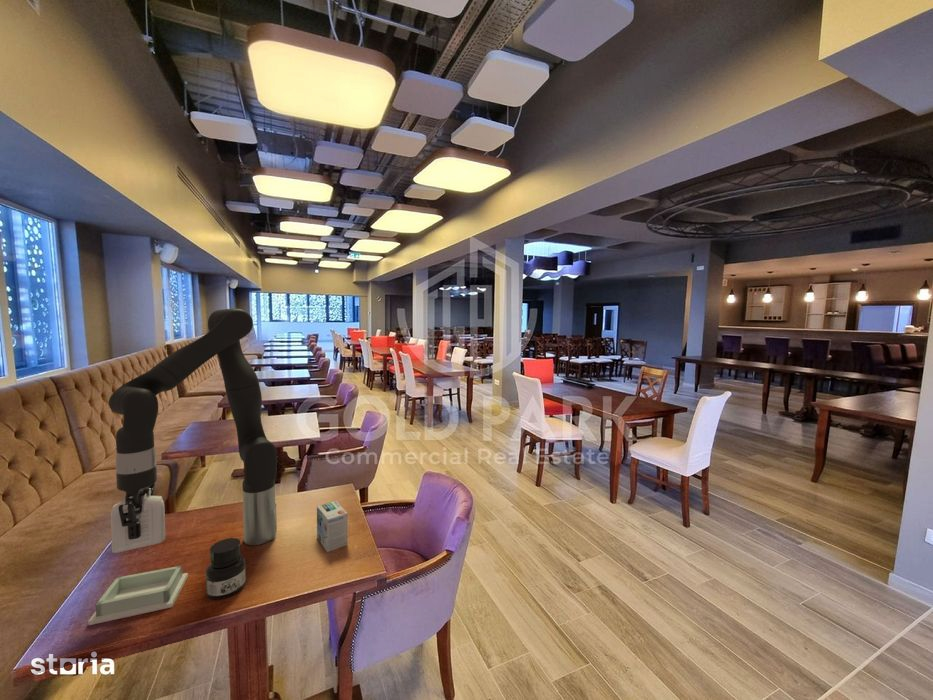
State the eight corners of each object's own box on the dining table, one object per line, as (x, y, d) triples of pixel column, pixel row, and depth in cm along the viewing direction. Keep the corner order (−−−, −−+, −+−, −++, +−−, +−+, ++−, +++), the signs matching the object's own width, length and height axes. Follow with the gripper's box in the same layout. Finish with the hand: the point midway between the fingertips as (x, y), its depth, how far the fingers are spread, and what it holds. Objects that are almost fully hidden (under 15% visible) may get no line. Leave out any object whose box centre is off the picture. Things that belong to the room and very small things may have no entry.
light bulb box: (316, 537, 123) (315, 505, 123) (336, 530, 128) (336, 500, 127) (327, 553, 115) (327, 519, 114) (348, 545, 119) (348, 512, 119)
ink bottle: (204, 606, 93) (203, 560, 92) (204, 585, 100) (202, 543, 99) (249, 590, 99) (248, 547, 98) (245, 572, 106) (244, 531, 105)
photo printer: (166, 534, 99) (164, 489, 98) (164, 543, 95) (162, 496, 94) (114, 547, 93) (111, 499, 92) (109, 556, 89) (107, 506, 88)
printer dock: (187, 576, 104) (187, 562, 103) (172, 607, 92) (171, 591, 92) (114, 590, 98) (113, 576, 97) (88, 625, 86) (87, 609, 86)
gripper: (142, 476, 87) (146, 545, 89) (166, 455, 101) (168, 515, 102) (101, 480, 84) (105, 552, 86) (131, 458, 98) (134, 520, 99)
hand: (139, 532), depth 94 cm, fingers closed on photo printer, 4 cm apart
